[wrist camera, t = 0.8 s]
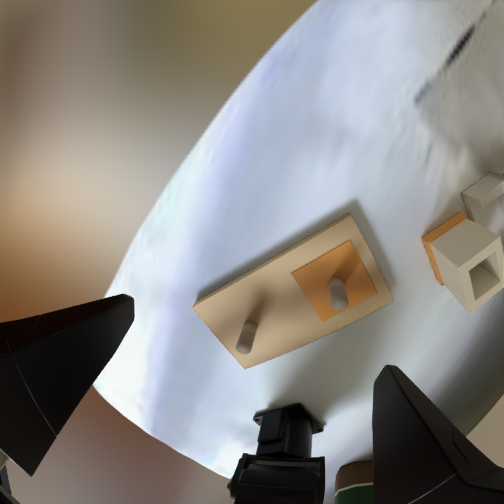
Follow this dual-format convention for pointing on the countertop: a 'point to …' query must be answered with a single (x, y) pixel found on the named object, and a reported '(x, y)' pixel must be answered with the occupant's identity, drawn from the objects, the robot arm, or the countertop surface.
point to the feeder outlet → (487, 203)
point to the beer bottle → (354, 483)
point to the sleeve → (466, 260)
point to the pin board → (297, 295)
